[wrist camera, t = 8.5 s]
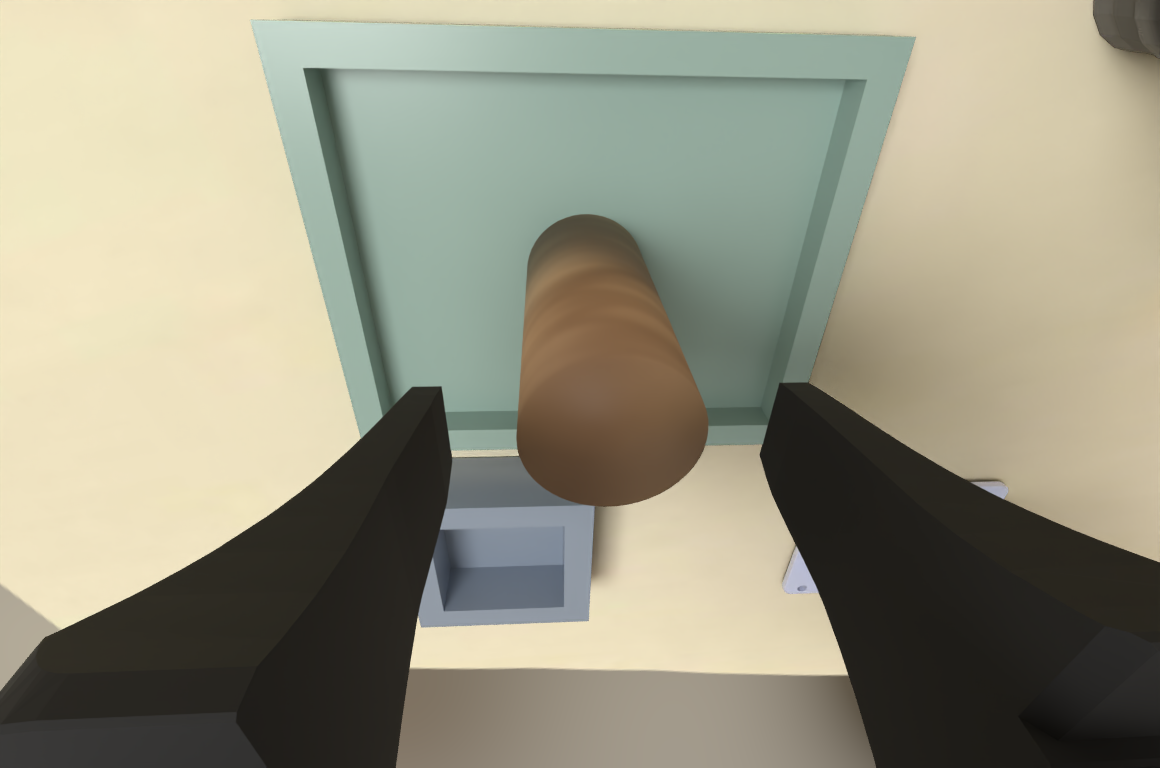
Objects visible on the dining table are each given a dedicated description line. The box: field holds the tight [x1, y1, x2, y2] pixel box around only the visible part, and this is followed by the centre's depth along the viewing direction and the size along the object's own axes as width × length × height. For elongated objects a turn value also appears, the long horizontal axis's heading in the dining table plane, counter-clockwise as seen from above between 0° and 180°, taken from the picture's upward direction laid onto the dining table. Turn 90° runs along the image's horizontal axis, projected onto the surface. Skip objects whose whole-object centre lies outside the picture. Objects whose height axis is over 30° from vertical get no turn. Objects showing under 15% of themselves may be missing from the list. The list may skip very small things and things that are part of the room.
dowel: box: [516, 214, 708, 507], centre depth 15 cm, size 4×4×9 cm
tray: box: [250, 20, 916, 450], centre depth 18 cm, size 17×14×2 cm
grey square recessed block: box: [418, 457, 595, 627], centre depth 25 cm, size 8×8×3 cm
